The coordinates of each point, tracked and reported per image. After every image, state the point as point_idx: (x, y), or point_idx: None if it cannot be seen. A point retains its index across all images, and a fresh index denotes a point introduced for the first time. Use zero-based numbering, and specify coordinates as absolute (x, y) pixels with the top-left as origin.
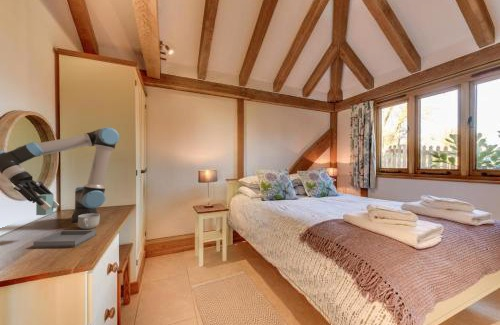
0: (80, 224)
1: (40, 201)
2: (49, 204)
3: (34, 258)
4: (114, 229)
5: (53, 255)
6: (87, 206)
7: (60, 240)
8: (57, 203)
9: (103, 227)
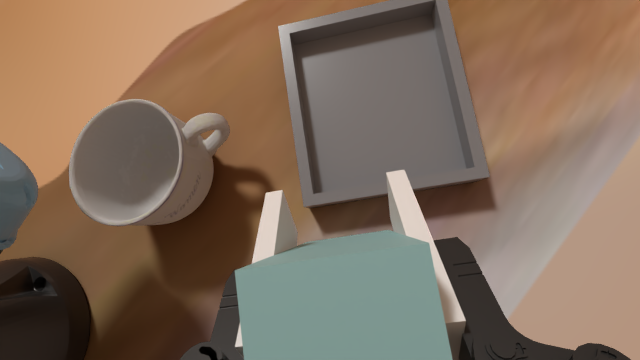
0: (207, 176)
1: (468, 278)
2: (345, 242)
3: (573, 61)
4: (196, 27)
5: (531, 16)
6: (35, 190)
7: (450, 60)
8: (272, 207)
9: (169, 104)
